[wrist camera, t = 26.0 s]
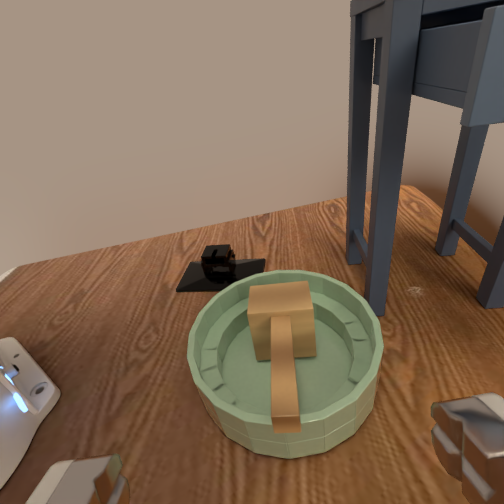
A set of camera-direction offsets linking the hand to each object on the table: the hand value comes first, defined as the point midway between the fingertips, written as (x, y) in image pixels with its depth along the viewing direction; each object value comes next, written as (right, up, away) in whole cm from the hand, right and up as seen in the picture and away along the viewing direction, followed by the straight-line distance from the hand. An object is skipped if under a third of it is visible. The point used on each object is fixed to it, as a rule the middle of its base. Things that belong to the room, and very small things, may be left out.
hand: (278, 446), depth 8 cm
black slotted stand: (-5, +1, +37) cm, 37 cm away
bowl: (+3, -6, +22) cm, 23 cm away
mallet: (+3, -7, +19) cm, 21 cm away
